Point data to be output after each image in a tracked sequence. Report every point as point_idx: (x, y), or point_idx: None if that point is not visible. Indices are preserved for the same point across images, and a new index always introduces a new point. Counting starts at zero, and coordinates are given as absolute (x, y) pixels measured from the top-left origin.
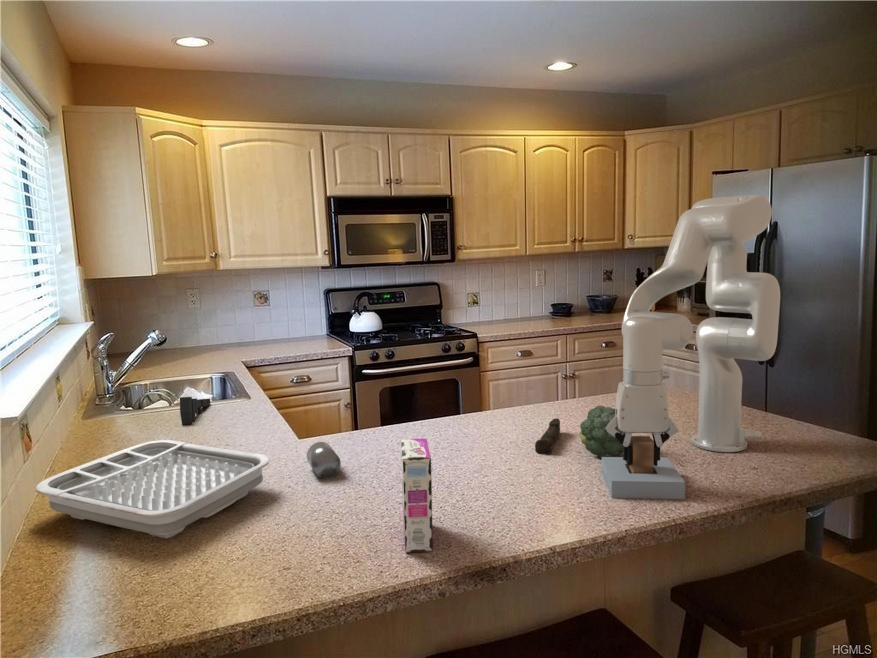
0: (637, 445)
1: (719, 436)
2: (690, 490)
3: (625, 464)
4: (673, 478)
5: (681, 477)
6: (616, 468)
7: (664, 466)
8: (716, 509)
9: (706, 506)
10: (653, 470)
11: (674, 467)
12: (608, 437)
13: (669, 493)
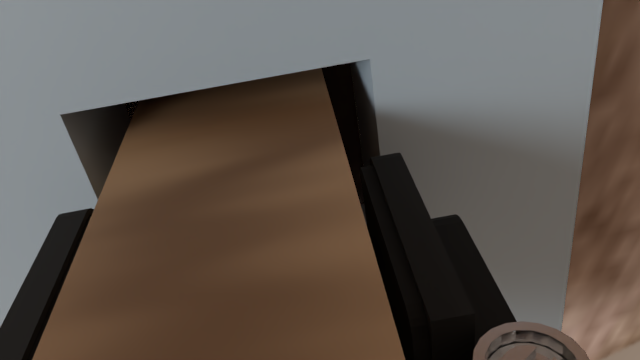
0: None
1: None
2: (591, 150)
3: (71, 108)
4: None
5: (560, 309)
6: (10, 255)
7: (494, 98)
8: (622, 347)
9: (588, 331)
10: (370, 120)
11: (587, 108)
12: None
13: None
